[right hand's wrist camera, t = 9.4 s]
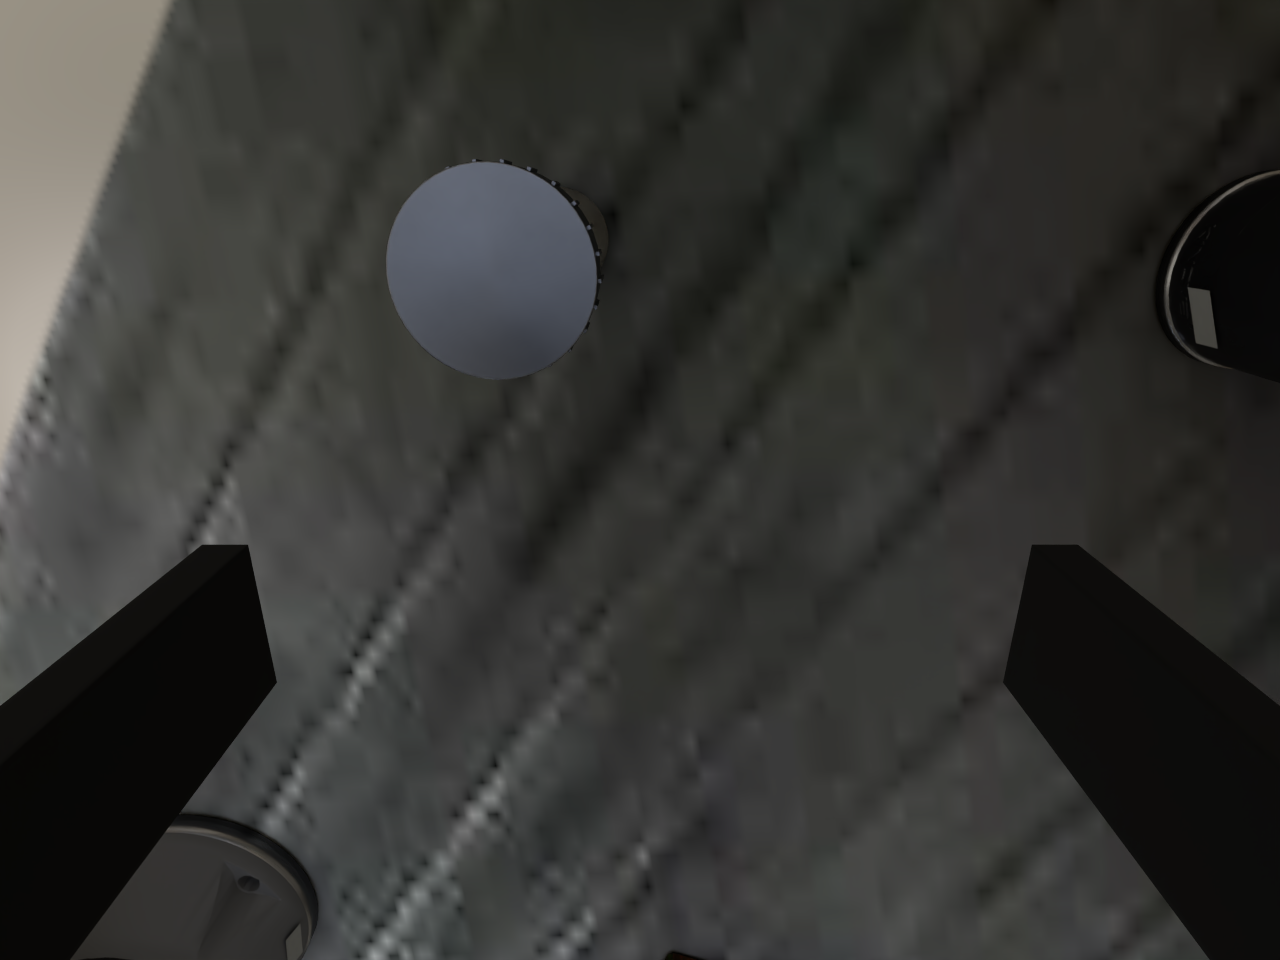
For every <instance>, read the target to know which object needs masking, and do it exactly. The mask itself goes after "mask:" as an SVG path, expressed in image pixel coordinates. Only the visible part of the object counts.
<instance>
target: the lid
mask: <svg viewBox="0 0 1280 960" xmlns="http://www.w3.org/2000/svg"><path fill="white" fill-rule="evenodd" d="M560 185H561V184H560V183H559V182H557V181H551V180H549V179H548V178H546V177H544V176H542V175H541V174H538V173H537V169H535V168H532V167H529V166H527V169H525V168H522V167H518V166H514V165H512V162H510V161H507V160H503V159H500V162H493V161H482V160H478V159H472V162H468V163H462V164H458V165H455V166H448V167H446V169H444V170H442V171H440V172H438V173H436V174H434V175H433V176H431V177H430V178H428V179H427V180H425V181H423V183H422V184H421V185H420V186H418V187H417V188H416V189H415V190H414V191H413V192H412V193H411V195H410V196H409V197H408V198H407V200H406V201H405V202H404V203H403V205H402V207H401V209H400V210H399V212H398V214H397V216H396V218H395V220H394V223H393V225H392V228H391V231H390V235H389V239H388V243H387V251H386V275H387V282H388V287H389V291H390V295H391V298H392V301H393V304H394V306H395V309H396V311H397V313H398V315H399V317H400V319H401V321H402V322H403V324H404V326H405V327H406V329H407V330H408V331H409V333H410V334H411V336H412V337H413V338H414V339H415V340H416V341H417V342H418V343H419V345H420V346H421V347H422V348H423V349H425V350H426V351H427V352H428V353H429V354H430V355H431V356H433V357H434V358H436V359H437V360H439V361H440V362H442V363H443V364H445V365H447V366H449V367H451V368H453V369H454V370H456V371H459V372H462V373H465V374H467V375H471V376H475V377H479V378H486V379H512V378H519V377H523V376H528V375H530V374H533V373H536V372H538V371H540V370H542V369H545V368H547V367H550V366H552V364H553V363H555V362H556V361H557V360H559V359H560V358H561V357H562V356H563V355H565V354H566V353H567V352H569V353H570V352H571V351H572V348H573V346H574V344H575V343H576V342H577V340H578V339H579V337H580V336H581V335H582V333H583V332H584V333H586V332H587V330H588V327H589V324H590V322H589V320H590V317H591V314H592V312H593V309H595V310H596V309H597V307H598V304H599V301H600V300H598V299H597V297H598V292H599V288H600V283H602V280H603V276H604V275H601V266H600V254H601V253H602V251H601V249H598V246H597V242H596V239H595V236H594V233H593V231H592V228H593V227H594V226H593V223H592V224H589V222H588V220H587V218H586V217H585V215H584V213H583V212H582V210H581V209H580V208H579V206H578V205H579V204H580V203H579V201H578V200H573V199H572V198H571V197H570V196H569V195H568V194H567V193H566V192H565V191H564V190H563V189H562V188H561V187H559V186H560Z"/></svg>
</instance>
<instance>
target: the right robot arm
mask: <svg viewBox="0 0 1280 960" xmlns="http://www.w3.org/2000/svg"><path fill="white" fill-rule="evenodd" d="M276 683H277V681H276V676H275V671H274V667H273V662H272V657H271V652H270V648H269V643H268V638H267V633H266V629H265V624H264V619H263V614H262V610H261V605H260V600H259V595H258V590H257V586H256V581H255V576H254V571H253V567H252V562H251V557H250V552H249V548H248V545H201V546H200V547H199V548H198V549H196V550H195V551H194V552H193V553H191V554H190V555H189V556H188V557H186V558H185V559H184V560H183V561H181V562H180V563H179V564H178V565H176V566H175V567H174V568H173V569H171V570H170V571H169V572H168V573H166V574H165V575H164V576H162V577H161V578H160V579H159V580H157V581H156V582H155V583H154V584H152V585H151V586H150V587H149V588H147V589H146V590H145V591H144V592H142V593H141V594H140V595H139V596H137V597H136V598H135V599H134V600H132V601H131V602H130V603H129V604H127V605H126V606H125V607H124V608H122V609H121V610H120V611H119V612H117V613H116V614H115V615H114V616H112V617H111V618H110V619H109V620H107V621H106V622H105V623H104V624H102V625H101V626H100V627H99V628H97V629H96V630H95V631H94V632H92V633H91V634H90V635H89V636H87V637H86V638H85V639H84V640H82V641H81V642H80V643H79V644H77V645H76V646H75V647H74V648H72V649H71V650H70V651H69V652H67V653H66V654H65V655H64V656H62V657H61V658H60V659H59V660H57V661H56V662H55V663H54V664H52V665H51V666H50V667H49V668H47V669H46V670H45V671H44V672H42V673H41V674H40V675H39V676H37V677H36V678H35V679H33V680H32V681H31V682H30V683H28V684H27V685H26V686H25V687H23V688H22V689H21V690H20V691H18V692H17V693H16V694H15V695H13V696H12V697H11V698H10V699H8V700H7V701H6V702H5V703H3V704H2V705H1V706H0V960H301V959H302V957H303V955H304V954H305V952H306V949H307V947H308V945H309V943H310V940H311V938H312V936H313V933H314V931H315V928H316V924H317V919H318V904H317V899H316V895H315V892H314V889H313V887H312V885H311V882H310V880H309V879H308V877H307V875H306V874H305V872H304V871H303V870H302V868H301V867H300V866H299V864H298V863H297V862H296V861H295V860H294V859H293V858H292V857H291V856H290V855H289V854H288V853H287V852H286V851H284V850H283V849H282V848H280V847H279V846H278V845H277V844H275V843H274V842H272V841H271V840H269V839H267V838H266V837H264V836H262V835H260V834H258V833H257V832H254V831H252V830H250V829H248V828H246V827H243V826H240V825H238V824H235V823H231V822H228V821H225V820H220V819H216V818H211V817H204V816H194V815H178V814H179V813H180V812H181V810H182V809H183V808H184V806H185V805H186V804H187V802H188V801H189V800H190V798H191V797H192V796H193V794H194V793H195V792H196V790H197V789H198V788H199V786H200V785H201V784H202V782H203V781H204V780H205V778H206V777H207V775H208V774H209V773H210V771H211V770H212V769H213V767H214V766H215V765H216V763H217V762H218V761H219V759H220V758H221V757H222V755H223V754H224V753H225V751H226V750H227V749H228V747H229V746H230V745H231V743H232V742H233V741H234V739H235V738H236V737H237V735H238V734H239V733H240V731H241V730H242V729H243V727H244V726H245V725H246V723H247V722H248V720H249V719H250V718H251V716H252V715H253V714H254V712H255V711H256V710H257V708H258V707H259V706H260V704H261V703H262V702H263V700H264V699H265V698H266V696H267V695H268V694H269V692H270V691H271V690H272V688H273V687H274V686H275V684H276ZM1003 683H1004V684H1005V686H1006V687H1007V688H1008V690H1009V691H1010V692H1011V694H1012V695H1013V696H1014V698H1015V699H1016V700H1017V702H1018V703H1019V704H1020V706H1021V707H1022V708H1023V710H1024V711H1025V712H1026V714H1027V715H1028V716H1029V718H1030V719H1031V720H1032V722H1033V723H1034V725H1035V726H1036V727H1037V729H1038V730H1039V731H1040V733H1041V734H1042V735H1043V737H1044V738H1045V739H1046V741H1047V742H1048V743H1049V745H1050V746H1051V747H1052V749H1053V750H1054V751H1055V753H1056V754H1057V755H1058V757H1059V758H1060V759H1061V761H1062V762H1063V763H1064V765H1065V766H1066V767H1067V769H1068V770H1069V771H1070V773H1071V774H1072V775H1073V777H1074V778H1075V780H1076V781H1077V782H1078V784H1079V785H1080V786H1081V788H1082V789H1083V790H1084V792H1085V793H1086V794H1087V796H1088V797H1089V798H1090V800H1091V801H1092V802H1093V804H1094V805H1095V806H1096V808H1097V809H1098V810H1099V812H1100V813H1101V814H1102V816H1103V817H1104V818H1105V820H1106V821H1107V822H1108V824H1109V825H1110V826H1111V828H1112V829H1113V830H1114V832H1115V833H1116V835H1117V836H1118V837H1119V839H1120V840H1121V841H1122V843H1123V844H1124V845H1125V847H1126V848H1127V849H1128V851H1129V852H1130V853H1131V855H1132V856H1133V857H1134V859H1135V860H1136V861H1137V863H1138V864H1139V865H1140V867H1141V868H1142V869H1143V871H1144V872H1145V873H1146V875H1147V876H1148V877H1149V879H1150V880H1151V881H1152V883H1153V884H1154V886H1155V887H1156V888H1157V890H1158V891H1159V892H1160V894H1161V895H1162V896H1163V898H1164V899H1165V900H1166V902H1167V903H1168V904H1169V906H1170V907H1171V908H1172V910H1173V911H1174V912H1175V914H1176V915H1177V916H1178V918H1179V919H1180V920H1181V922H1182V923H1183V924H1184V926H1185V927H1186V928H1187V930H1188V931H1189V932H1190V934H1191V935H1192V936H1193V938H1194V939H1195V941H1196V942H1197V943H1198V945H1199V946H1200V947H1201V949H1202V950H1203V951H1204V953H1205V954H1206V955H1207V957H1208V958H1209V959H1210V960H1280V706H1279V705H1278V704H1277V703H1275V702H1274V701H1273V700H1272V699H1270V698H1269V697H1268V696H1267V695H1265V694H1264V693H1263V692H1262V691H1260V690H1259V689H1258V688H1257V687H1255V686H1254V685H1253V684H1252V683H1250V682H1249V681H1248V680H1246V679H1245V678H1244V677H1243V676H1241V675H1240V674H1239V673H1238V672H1236V671H1235V670H1234V669H1233V668H1231V667H1230V666H1229V665H1228V664H1226V663H1225V662H1224V661H1223V660H1221V659H1220V658H1219V657H1218V656H1216V655H1215V654H1214V653H1213V652H1211V651H1210V650H1209V649H1208V648H1206V647H1205V646H1204V645H1203V644H1201V643H1200V642H1199V641H1198V640H1196V639H1195V638H1194V637H1193V636H1191V635H1190V634H1189V633H1188V632H1186V631H1185V630H1184V629H1183V628H1181V627H1180V626H1179V625H1178V624H1176V623H1175V622H1174V621H1173V620H1171V619H1170V618H1169V617H1168V616H1166V615H1165V614H1164V613H1163V612H1161V611H1160V610H1159V609H1158V608H1156V607H1155V606H1154V605H1153V604H1151V603H1150V602H1149V601H1148V600H1146V599H1145V598H1144V597H1143V596H1141V595H1140V594H1139V593H1138V592H1136V591H1135V590H1134V589H1133V588H1131V587H1130V586H1129V585H1128V584H1126V583H1125V582H1124V581H1123V580H1121V579H1120V578H1119V577H1118V576H1116V575H1115V574H1114V573H1112V572H1111V571H1110V570H1109V569H1107V568H1106V567H1105V566H1104V565H1102V564H1101V563H1100V562H1099V561H1097V560H1096V559H1095V558H1094V557H1092V556H1091V555H1090V554H1089V553H1087V552H1086V551H1085V550H1084V549H1082V548H1081V547H1080V546H1079V545H1032V548H1031V552H1030V557H1029V562H1028V567H1027V571H1026V576H1025V581H1024V586H1023V590H1022V595H1021V600H1020V605H1019V610H1018V614H1017V619H1016V624H1015V629H1014V633H1013V638H1012V643H1011V648H1010V652H1009V657H1008V662H1007V667H1006V671H1005V676H1004V681H1003Z"/></svg>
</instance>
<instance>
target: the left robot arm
mask: <svg viewBox="0 0 1280 960" xmlns="http://www.w3.org/2000/svg"><path fill="white" fill-rule="evenodd" d="M1156 306H1157V312H1158V316H1159V320H1160V323H1161V325H1162V328H1163V330H1164V331H1165V333H1166V335H1167V337H1168V338H1169V339H1170V341H1171V342H1172V343H1173V344H1174V345H1175V346H1176V347H1177V348H1178V349H1179V350H1180V351H1182V352H1183V353H1184V354H1186V355H1187V356H1189V357H1191V358H1193V359H1195V360H1197V361H1200V362H1203V363H1207V364H1210V365H1214V366H1217V367H1222V368H1229V369H1236V370H1239V371H1243V372H1246V373H1250V374H1253V375H1256V376H1259V377H1262V378H1265V379H1269V380H1272V381H1276V382H1279V383H1280V170H1270V171H1263V172H1259V173H1255V174H1251V175H1248V176H1245V177H1243V178H1240V179H1238V180H1236V181H1234V182H1232V183H1230V184H1228V185H1226V186H1224V187H1223V188H1221V189H1219V190H1218V191H1216V192H1215V193H1214V194H1212V195H1211V196H1209V197H1208V198H1207V199H1206V200H1205V201H1203V202H1202V203H1201V204H1200V205H1199V206H1198V207H1197V208H1196V209H1195V210H1194V211H1193V212H1192V213H1191V214H1190V215H1189V216H1188V217H1187V219H1186V220H1185V221H1184V222H1183V223H1182V225H1181V226H1180V228H1179V229H1178V230H1177V232H1176V233H1175V235H1174V237H1173V238H1172V240H1171V242H1170V244H1169V246H1168V248H1167V250H1166V252H1165V254H1164V257H1163V259H1162V262H1161V265H1160V269H1159V273H1158V277H1157V284H1156Z"/></svg>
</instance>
